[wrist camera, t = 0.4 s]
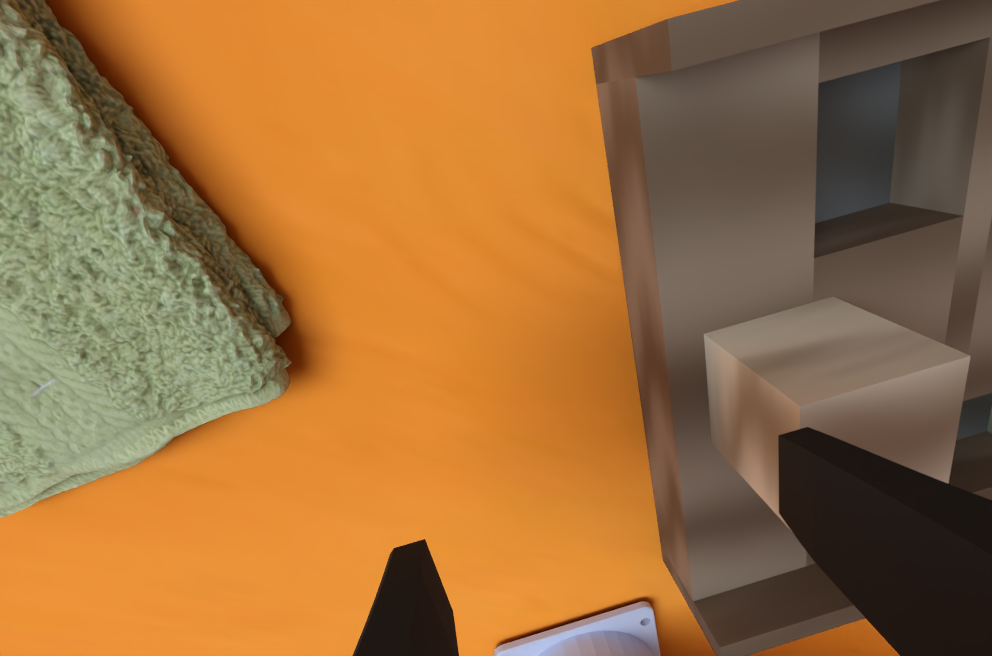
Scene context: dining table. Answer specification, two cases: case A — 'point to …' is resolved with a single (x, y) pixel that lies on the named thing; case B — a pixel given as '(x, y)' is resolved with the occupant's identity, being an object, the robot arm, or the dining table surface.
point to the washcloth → (108, 280)
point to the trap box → (792, 245)
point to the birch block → (832, 389)
